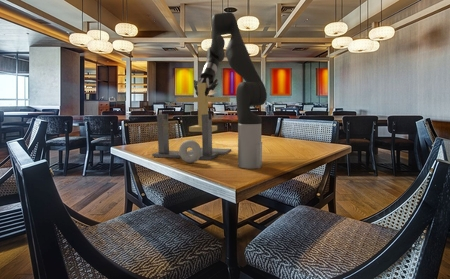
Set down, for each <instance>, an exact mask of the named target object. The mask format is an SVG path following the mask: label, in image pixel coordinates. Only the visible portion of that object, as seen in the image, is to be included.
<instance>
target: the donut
mask: <svg viewBox="0 0 450 279" xmlns="http://www.w3.org/2000/svg"><path fill="white" fill-rule="evenodd" d="M201 148H202V147H201V145H200V144H199V143H198V142H197V141H196V140H194V139H188V140H187V139H186V140H183V141H182V143H181V144H180V145H179V150H178V151H179V153H180V156H181V158H182V159H181V160H183V161H184V162H186V163H188V164H192V163H193V164H194V163H195V162H197V161H198V159H199V158H200V156H201ZM188 149H191V150H192V149H193V151H194V153H193V155H189V154H188V153H187V151H188Z"/></svg>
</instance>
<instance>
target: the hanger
mask: <svg viewBox="0 0 450 279" xmlns="http://www.w3.org/2000/svg"><path fill="white" fill-rule="evenodd" d="M197 86H198V96H192V97H191V96H190V97H188V96H187V97H184V96H183V97H182V96H181V97H176V103H197V120H198V121H197V122H198V123H197V124H195V125H191V126H188V132H191V133H192V132H193V133H195V132H198V133H199V132H200V133H202V114H209V103H228V102H229V103H230V102H231V96H209V94H208V95H207V96H205V90H206V88H207V83H198V85H197ZM216 131H218V125H212V133H213V132H216Z"/></svg>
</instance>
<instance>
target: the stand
mask: <svg viewBox="0 0 450 279" xmlns="http://www.w3.org/2000/svg"><path fill="white" fill-rule="evenodd" d="M156 120H157V122H156V124H157V146H158V151H157V152H154V153H152V154H151V157H152V156H154V157H153V158H162V157H169V158H168V159H179V158H181V156H180V153H179V150H170V140H169V139H170V137H169V135H170V134H169V113H161V114H160V113H159V114H156ZM212 126H213V114H212V113H208V114H202V132H201V137H202V139H201V140H202V141H201V142H202V143H201V145H202V147H201V148H202V152H201V156H200V158H199V159H198V160H201V161H212V160H215V159H216V158H217V157H218V156H219V155H218V153H212V148H213V132H212ZM187 153H188V154H189V155H193V153H194V152H187ZM181 160H183V159H182V158H181ZM198 160H197V161H198Z"/></svg>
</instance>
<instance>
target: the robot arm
mask: <svg viewBox="0 0 450 279" xmlns="http://www.w3.org/2000/svg"><path fill="white" fill-rule="evenodd" d="M210 23H211V27H210V28H211V29H210V30H211V45H210V46H209V47H208V48H207V50H206V56H205V57H206V61H205V64H204V66H203V69H202V70H201V74H200V78H198V80H196V79H194V80H193V88H194V90H195V96H196V97H198V83H207V88H206V90H205V96H207V95H208V96H209V94H210V91H214V90H215V89H216V88H217V87H218V85H219V81H218V79H217V78H216V75H217V73H218V72H217V70H218V67H219V64H220V63H222V62H223V61H224V59H225V57H226V59H227V62H228V64H229V66H230V68H231V69H232V70H233V71H234V72H235V73H236V74H237V75H239V76H240V77H241V78H242V79H243V80H244V81H242V82H239V83H238V85H237V86H236V91H235V92H236V93H235V98H236V99H235V100H236V101H235V102H236V116H237V117H236V118H237V167H238V168H241V169H246V170H247V169H249V170H250V169H261V167H262V165H263V141H262V122H263V121H262V117H261V115H259V114H256V113H254V112H253V111H252V110H251V107H260V106H262V105H264V104H265V103H266V101H267V95H268V94H267V89H266V86H265V84H264V82H263V80H262V79H261V77H260V75H259V73H258V72H257V70H256V67H255V65H254V64H253V61H252V59H251V55H250V53H249V51H248V49H247V46H246V44H245V42H244V38H243V37H242V34H241V32H240V29H239V25H238V21H237V18H236V16H235V14H234V13H233V12H230V11H229V12H228V11H227V12H220V13H218V12H217V13H215V14H213V15H212V17H211V22H210ZM225 35H231V36H230V39H229V40H228V43H227V45H226V43H225V41H226V40H225V39H224V37H223V36H225ZM225 45H226V47H225ZM225 48H226V49H225ZM225 55H226V56H225ZM215 78H216V79H215Z"/></svg>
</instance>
